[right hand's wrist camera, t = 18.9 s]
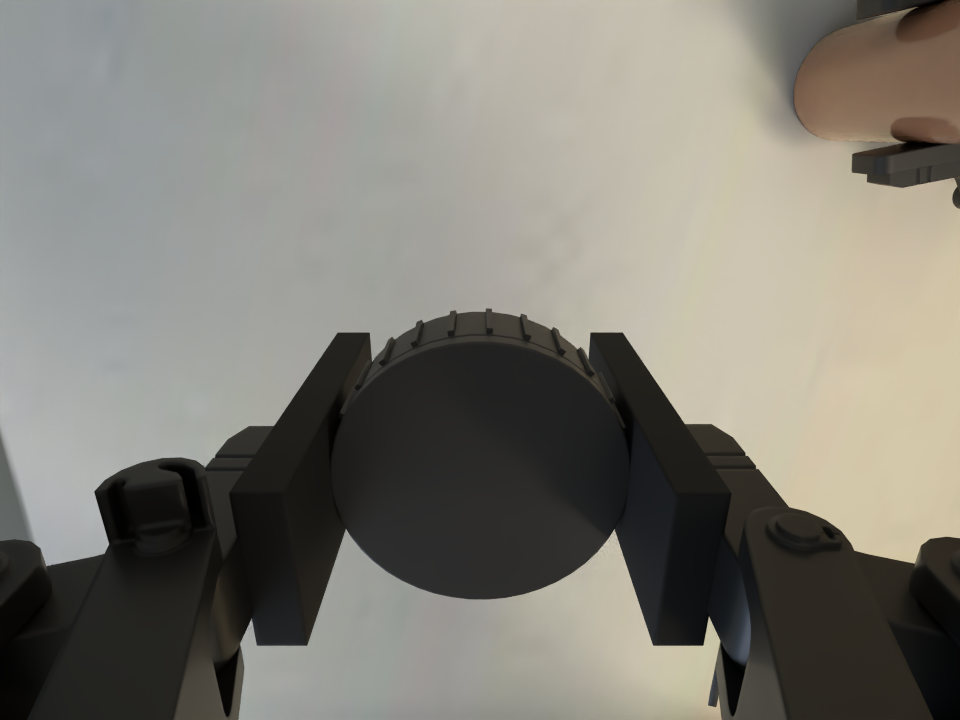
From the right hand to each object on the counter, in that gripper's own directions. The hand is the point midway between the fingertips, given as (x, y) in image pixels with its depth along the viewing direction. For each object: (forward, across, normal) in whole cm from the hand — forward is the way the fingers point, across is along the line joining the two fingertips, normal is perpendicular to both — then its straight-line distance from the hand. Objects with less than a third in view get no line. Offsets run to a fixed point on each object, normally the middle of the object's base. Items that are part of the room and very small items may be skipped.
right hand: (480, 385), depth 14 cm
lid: (-4, 0, 0) cm, 4 cm away
